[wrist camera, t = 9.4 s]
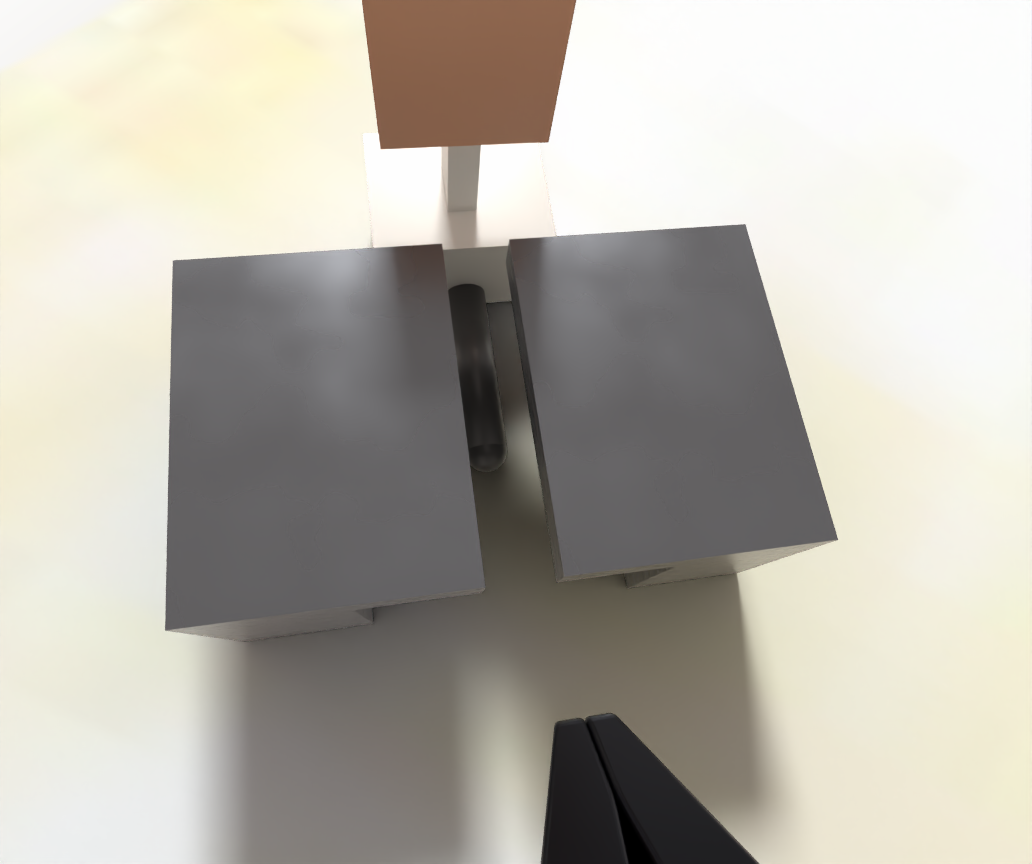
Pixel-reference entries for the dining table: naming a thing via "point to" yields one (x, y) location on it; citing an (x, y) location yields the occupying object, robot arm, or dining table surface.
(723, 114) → the dining table surface
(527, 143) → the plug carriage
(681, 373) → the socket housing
